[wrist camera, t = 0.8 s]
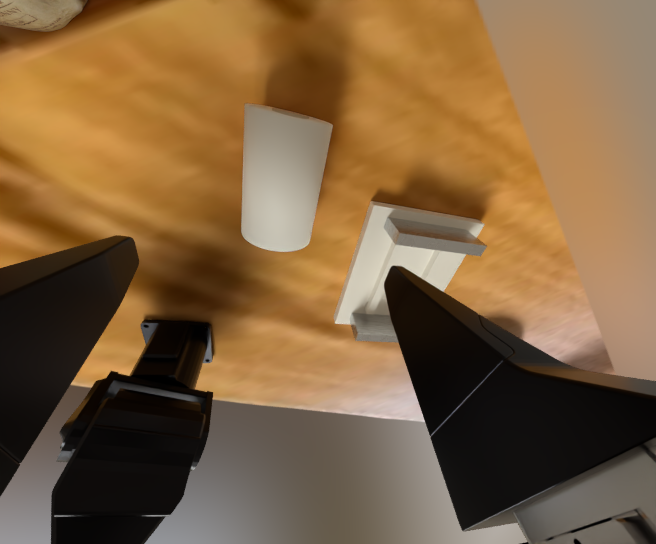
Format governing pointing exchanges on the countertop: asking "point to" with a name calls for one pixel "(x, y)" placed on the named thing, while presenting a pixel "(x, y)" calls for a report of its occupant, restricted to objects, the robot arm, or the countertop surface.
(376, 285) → the holder base
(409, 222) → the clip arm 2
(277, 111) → the paper roll
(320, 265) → the countertop surface
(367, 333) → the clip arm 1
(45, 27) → the chocolate bunny
